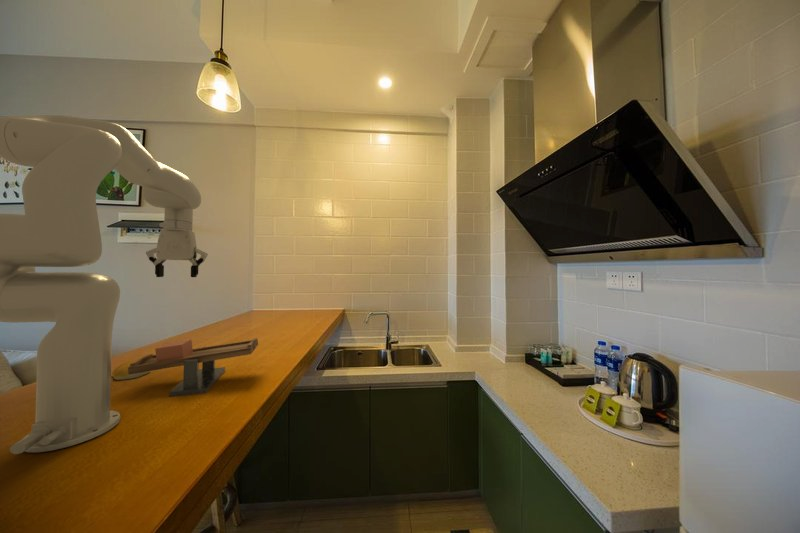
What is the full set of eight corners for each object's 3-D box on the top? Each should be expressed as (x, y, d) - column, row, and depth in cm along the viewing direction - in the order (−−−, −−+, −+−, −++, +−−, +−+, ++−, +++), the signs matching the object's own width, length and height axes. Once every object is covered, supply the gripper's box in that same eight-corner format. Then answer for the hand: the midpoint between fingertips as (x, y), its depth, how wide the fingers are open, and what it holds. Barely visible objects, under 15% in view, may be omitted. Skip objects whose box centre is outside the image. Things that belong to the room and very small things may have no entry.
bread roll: (114, 383, 77) (115, 369, 77) (111, 375, 83) (111, 362, 83) (153, 374, 84) (153, 361, 84) (147, 367, 89) (148, 355, 89)
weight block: (183, 359, 75) (182, 344, 74) (156, 363, 73) (155, 348, 73) (192, 352, 80) (191, 339, 80) (168, 356, 78) (166, 342, 78)
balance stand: (205, 392, 72) (206, 360, 72) (169, 396, 69) (169, 363, 69) (224, 371, 87) (225, 344, 87) (195, 373, 85) (196, 346, 85)
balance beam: (251, 357, 77) (249, 346, 77) (127, 378, 69) (126, 365, 69) (258, 346, 88) (257, 336, 88) (152, 363, 79) (151, 352, 79)
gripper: (140, 223, 87) (139, 277, 87) (203, 227, 93) (202, 277, 92) (153, 227, 95) (152, 276, 94) (211, 230, 100) (210, 277, 99)
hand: (177, 277), depth 93 cm, fingers open, 9 cm apart
